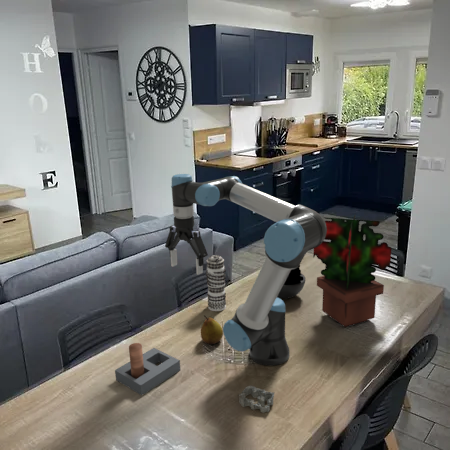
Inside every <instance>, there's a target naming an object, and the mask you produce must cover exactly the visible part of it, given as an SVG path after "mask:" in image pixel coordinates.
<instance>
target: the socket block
mask: <svg viewBox="0 0 450 450" xmlns="http://www.w3.org/2000/svg"><path fill="white" fill-rule="evenodd" d="M158 363H159V365H157V364H158ZM143 364H144V375H142V376H140V377H139V378H137V379H135V378H133V377H132V375H131V364H130V361H129V362H127V363H125V364H123V365H121V366H120V367H118V368H117V369H115V370H114V374H115V381H117V382H119V383H120V384H122V385H124V386H126V387H127V388H129V389H130V390H131V391H133V392H135V393H137V394H138V395H140V396H143V395H145V394H146V393H148V392H149V391H151V390H152V389H153V388H155V387H157V386H159V385H160V384H161V383H163V382H164V381H166V380H168V379H169V378H170V377H172V376H174V375H175V374H177V373H178V372H180V371H181V360H180V359H178V358H176V357H173V356H171V355H170V354H167V353H166V352H164V351H162V350H160V349H157V348H156V347H153V348H151V349H149V350H148V351H145V352H144V353H143Z"/></svg>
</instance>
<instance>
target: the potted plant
mask: <svg viewBox="0 0 450 450" xmlns="http://www.w3.org/2000/svg"><path fill="white" fill-rule="evenodd" d="M323 219H324V221H325V223H326V227H327V234H326V237H325V239H324V241H323V242H322V243H321V244H320V245H319V246H317V247H316V248H313V256H312V258H313V259H314V258H315V256H316V258H317V259H318V260H320V261H321V263H322V265H325V267H324V269H321V270H320V274H321V276H317V277H316V286H317V287H318V288H320V289H322V305H321V307H322V308H321V310H322V312H324V313H325V314H326V315H328V316H329V317H330V318H331V319H333V320H334V321H335V322H337V323H338V324H340V325H341V326H343V327H344V328H349V327H352V326H355V325H358V324H362V323H365V322H368V320H372V319H375V316H376V303H377V296H379V295H383V294H384V287H385V285H384V284H383V283H380V282H379V281H377V280H376V276H375V275H373V274H375V273H376V271H377V268H376V267H374V266H378V269H379V270H382V271H384V270H386V269H387V267H390V266H391V261H392V260H391V258H392V247H391V246H389V244H388V243H387V242H385V241H382V240H383V239H384V234H383V233H381V232H375V231H374V229H373V228H371V227H378V226H379V225H380V221H379V220H368V219H367V220H366V219H356V214H354V216H353V218H339V217H338V218H337V217H327V216H326V217H323ZM325 219H326V220H325ZM361 222H363V223H362V224H361V225H360V223H361ZM364 236H365V238H364ZM326 240H327V241H326ZM379 241H382V242H381V243H380V245H379Z"/></svg>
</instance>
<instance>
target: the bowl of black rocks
mask: <svg viewBox="0 0 450 450" xmlns="http://www.w3.org/2000/svg"><path fill="white" fill-rule="evenodd" d="M300 267H301V264H300V265H299V266H298V267H297V268H295V269H291V271H290V273H289V275H288V277H287V279H286V281H285V283H284V284H283V286H282V288H281V290H280V292H279V294H278V296H277V298H280V299H290V298H293V297H295V296H298V295H299V294H300V292H301V291H302V290H303V289H304V287H305V283H306V276H305V275H304V274H303V273H302V270H301V269H300Z"/></svg>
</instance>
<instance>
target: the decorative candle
mask: <svg viewBox="0 0 450 450" xmlns="http://www.w3.org/2000/svg"><path fill="white" fill-rule="evenodd" d="M206 262H207V263H206V270H205V277H206V286H207V287H208V288H207V306H208V307H207V308H208V310H210V311H213V312H220V311H223V310H226V308H227V299H226V294H227V293H226V289H225V285H226V281H225V280H226V279H227V278H226V271H227V270H226V267H225V265H224V264H225V263H224V262H225V259H224V258H223V257H222V256H221V255H218V254H215V255H214V254H213V255H210V256H209V257H208V258H207V259H206Z"/></svg>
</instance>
